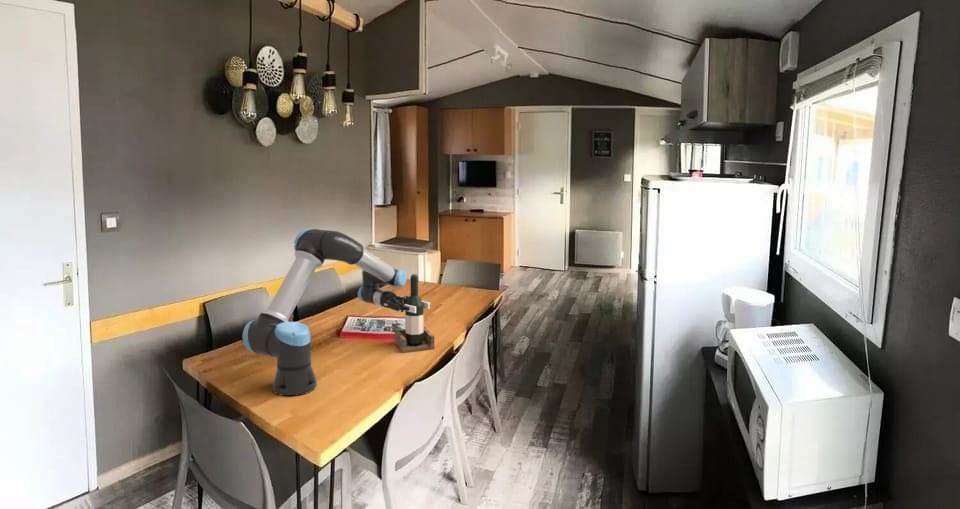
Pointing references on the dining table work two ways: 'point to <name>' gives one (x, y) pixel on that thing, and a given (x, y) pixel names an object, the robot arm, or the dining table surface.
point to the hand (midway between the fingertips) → (422, 307)
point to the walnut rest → (407, 347)
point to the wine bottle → (414, 315)
